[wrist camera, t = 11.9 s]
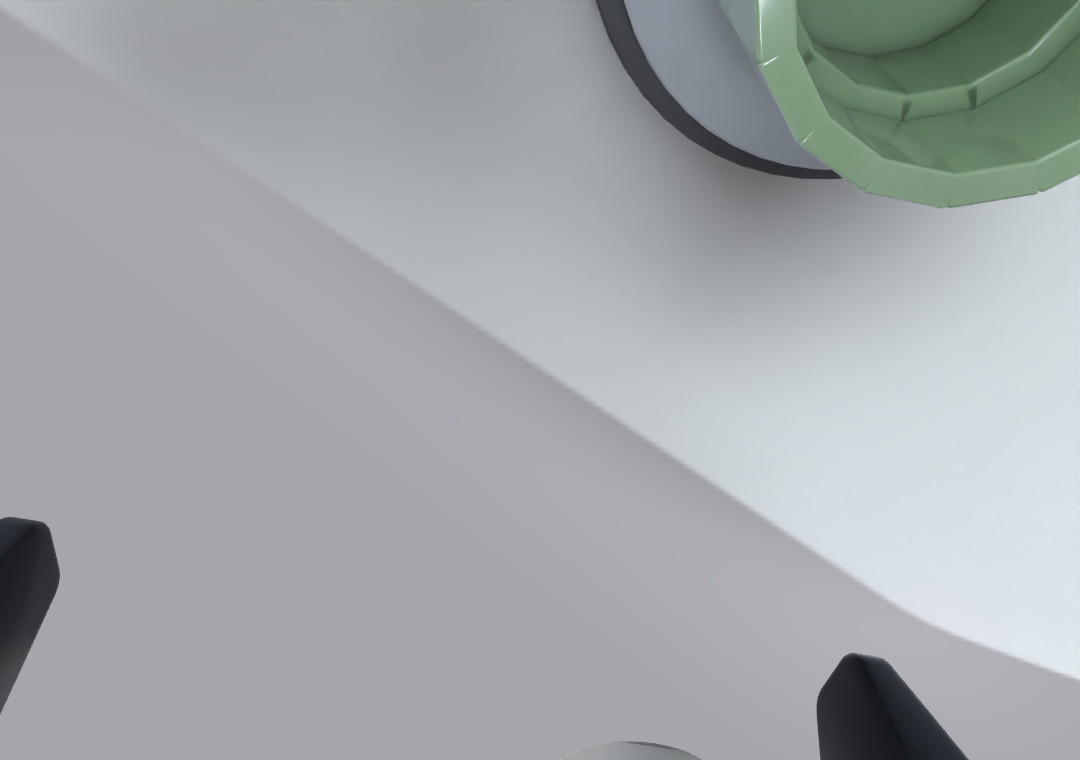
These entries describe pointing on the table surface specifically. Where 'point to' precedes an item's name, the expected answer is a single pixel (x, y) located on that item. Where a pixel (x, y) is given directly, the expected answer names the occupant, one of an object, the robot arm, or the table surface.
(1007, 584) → the table surface
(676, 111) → the scale
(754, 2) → the cup
